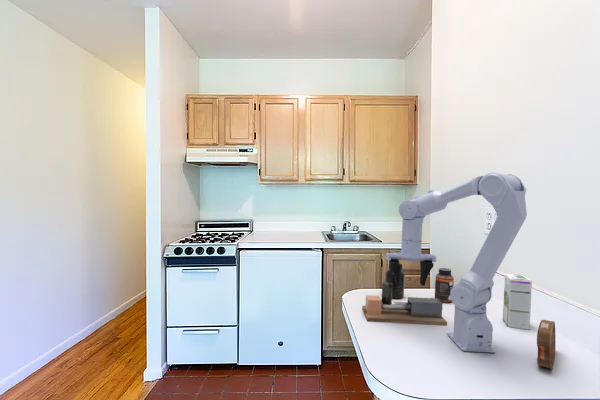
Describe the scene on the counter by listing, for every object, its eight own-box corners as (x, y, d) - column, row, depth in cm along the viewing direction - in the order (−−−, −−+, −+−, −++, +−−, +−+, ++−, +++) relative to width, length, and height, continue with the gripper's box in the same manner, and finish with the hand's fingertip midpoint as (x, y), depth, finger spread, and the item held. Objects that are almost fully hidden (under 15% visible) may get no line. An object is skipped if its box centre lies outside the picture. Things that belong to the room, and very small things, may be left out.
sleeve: (441, 318, 97) (442, 303, 97) (411, 316, 98) (411, 302, 98) (436, 312, 102) (436, 298, 102) (407, 310, 102) (407, 297, 102)
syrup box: (530, 330, 93) (533, 280, 93) (506, 326, 95) (509, 277, 95) (523, 322, 99) (526, 275, 98) (501, 319, 100) (504, 273, 100)
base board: (446, 325, 95) (447, 321, 95) (367, 321, 96) (367, 317, 96) (434, 312, 105) (434, 309, 105) (362, 308, 106) (362, 305, 106)
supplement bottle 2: (455, 303, 113) (457, 271, 113) (438, 303, 113) (440, 271, 113) (448, 298, 119) (449, 267, 119) (431, 297, 119) (433, 266, 119)
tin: (551, 375, 70) (553, 337, 70) (533, 370, 72) (535, 332, 72) (556, 351, 82) (558, 317, 81) (540, 346, 84) (542, 314, 83)
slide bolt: (417, 312, 98) (418, 286, 98) (373, 310, 99) (375, 284, 99) (414, 308, 101) (415, 283, 101) (372, 306, 102) (373, 281, 102)
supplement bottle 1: (380, 294, 121) (381, 262, 120) (394, 292, 124) (396, 261, 123) (393, 300, 114) (394, 266, 114) (407, 298, 117) (409, 265, 117)
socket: (380, 314, 98) (381, 300, 98) (367, 314, 98) (368, 299, 98) (378, 309, 103) (378, 295, 102) (365, 308, 103) (365, 295, 103)
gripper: (430, 238, 102) (429, 281, 103) (384, 237, 103) (382, 279, 103) (439, 242, 95) (437, 288, 96) (389, 240, 96) (387, 286, 96)
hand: (409, 284), depth 99 cm, fingers open, 7 cm apart
